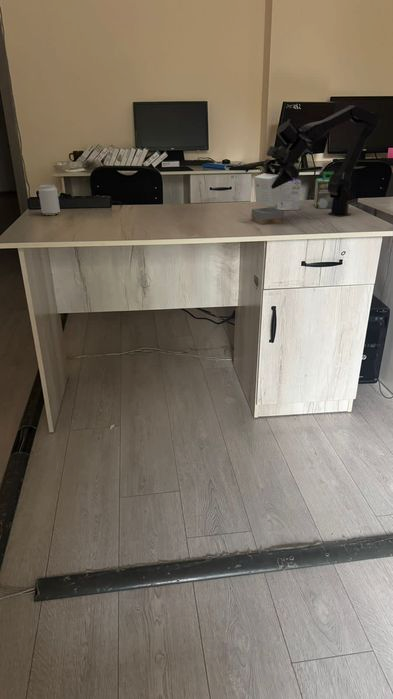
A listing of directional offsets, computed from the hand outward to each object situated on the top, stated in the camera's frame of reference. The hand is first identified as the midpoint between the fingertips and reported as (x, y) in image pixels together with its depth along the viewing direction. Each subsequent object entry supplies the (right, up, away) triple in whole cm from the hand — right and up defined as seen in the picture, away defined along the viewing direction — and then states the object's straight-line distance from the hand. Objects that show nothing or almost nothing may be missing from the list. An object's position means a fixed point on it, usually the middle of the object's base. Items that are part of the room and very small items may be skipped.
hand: (266, 186), depth 190 cm
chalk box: (+31, +1, +33) cm, 45 cm away
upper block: (+1, -10, +5) cm, 11 cm away
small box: (+1, -6, +4) cm, 7 cm away
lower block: (+1, -12, +7) cm, 14 cm away
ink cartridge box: (+13, -1, +29) cm, 32 cm away
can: (-88, -4, +25) cm, 92 cm away
